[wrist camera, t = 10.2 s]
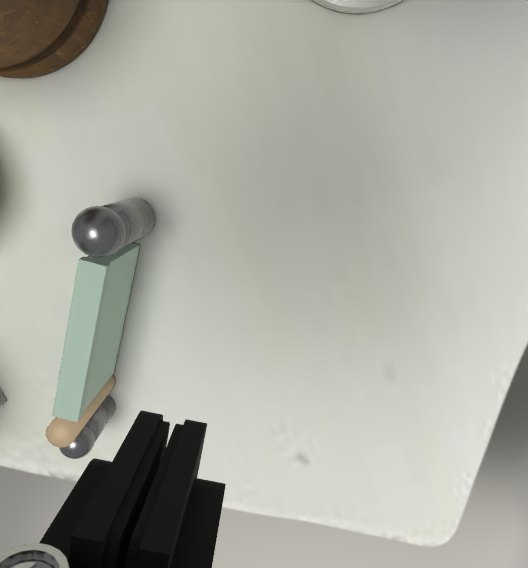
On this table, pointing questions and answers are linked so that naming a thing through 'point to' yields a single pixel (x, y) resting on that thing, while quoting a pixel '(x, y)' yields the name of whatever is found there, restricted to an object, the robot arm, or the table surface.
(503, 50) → the table surface
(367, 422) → the table surface
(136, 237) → the hinge post
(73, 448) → the post
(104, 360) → the gate
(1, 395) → the perfume bottle
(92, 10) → the wooden container
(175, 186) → the table surface
